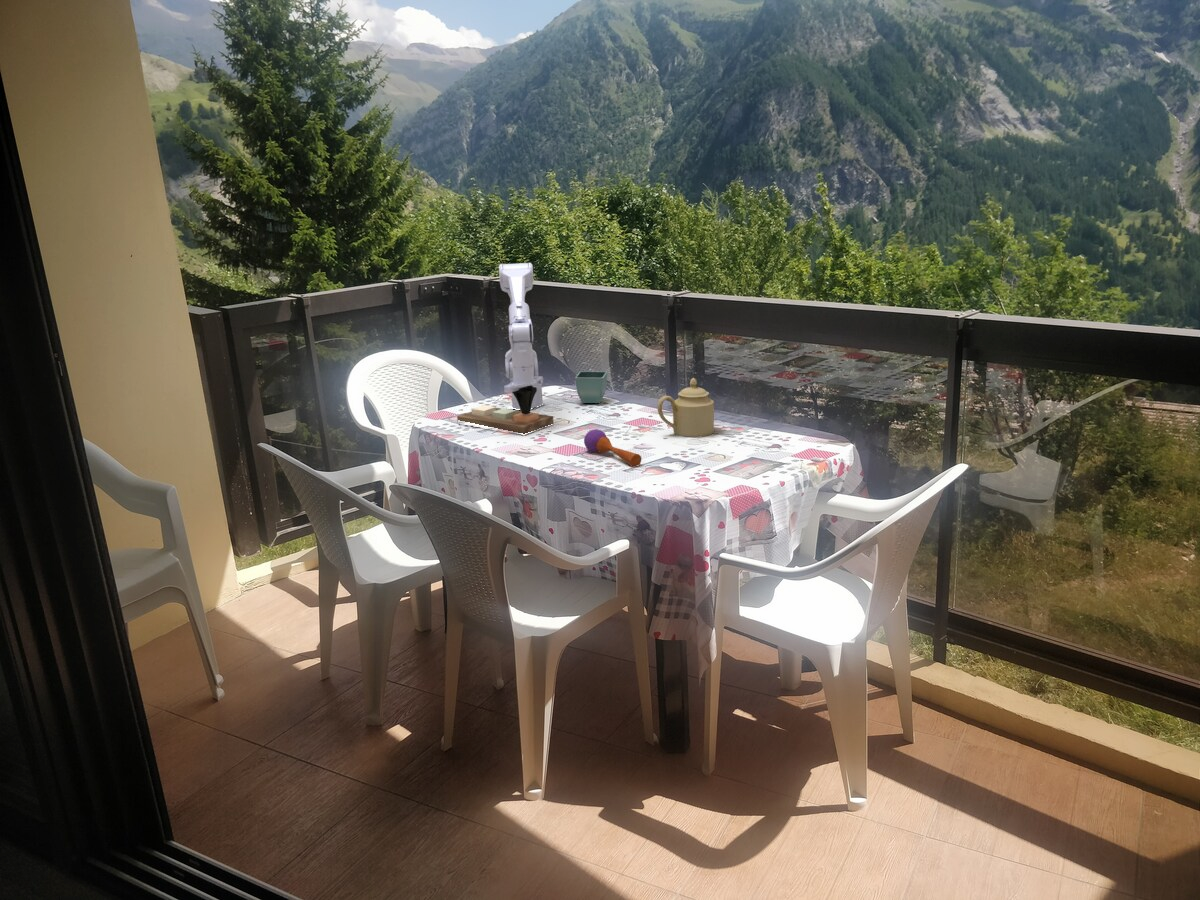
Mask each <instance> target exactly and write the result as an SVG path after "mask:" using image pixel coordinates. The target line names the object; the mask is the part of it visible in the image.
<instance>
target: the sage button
mask: <svg viewBox="0 0 1200 900" xmlns="http://www.w3.org/2000/svg"><path fill="white" fill-rule="evenodd" d="M517 411H518V410H513V409H507V408H506V407H505V408H504V407H503V408H502V409H500V410H497V411H494V412H492V418H498V419H504V420H506V419H509V418H512V417H513V415H516V414H517Z"/></svg>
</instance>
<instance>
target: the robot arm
mask: <svg viewBox="0 0 1200 900" xmlns="http://www.w3.org/2000/svg"><path fill="white" fill-rule="evenodd" d="M533 266H534V265H533V264H532V263H531V262H525V263H523V262H522V263H521V262H520V263H500V264H499V265H498V273H499V275H498V277H499V285H500V289H501V291H503V292H504V293H507V294H508V296H509V299H510V304H509V306H508V316H509V317H508V318H509V325H508V338H509V339H508V340H509V344H510V349H509V350H508V351H506V352H505V354H504V356H505V359H504V364H505V378H507V379H508V380H510V382H509V383H508V384H506V385H504V386H503V389H504V390H503V391H504V393H505V394H511V405H512V407H513V408H516V409H520V410H521V413H522V414H529V413H530V412H531V411H532V409H531V408H534V407H537V406H540V405H542V404H545V405H546V403H544V402H543V400H544V399H543V387H542V385H543V384H544V376H539V361H538V355H537V352H536V351H535V350H534V349H533V342H534V330H533V328H534V326H533V323H532V319H531V317H530V316H531V315H530V306H529V304H528V303H526V299H525V298H526V293H527V292H529V291H531V290H532V289H533V287H534V268H533ZM540 407H541V406H540ZM537 408H538V407H537ZM534 409H535V408H534Z"/></svg>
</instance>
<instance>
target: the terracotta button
mask: <svg viewBox="0 0 1200 900" xmlns="http://www.w3.org/2000/svg"><path fill="white" fill-rule="evenodd" d="M538 414H539V413H537V412H532V411H530V413H529V414H522V413H519V414H516V415H513V418H514V421H517V422H523V423H530V422H532V421H535V420H538V419H539V415H538Z"/></svg>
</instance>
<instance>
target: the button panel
mask: <svg viewBox="0 0 1200 900" xmlns="http://www.w3.org/2000/svg"><path fill="white" fill-rule="evenodd" d="M500 409H503V408H500V407H496V411H497V410H500ZM519 413H521V411H519V410H517V414H519ZM538 415H539V419H538V420H535V421H532V422H530V423H523V422H517V421H514V418H513V417H512V418H509V419H506V420H504V419H498V418H492V414H490V415H487V416H479V415H473V414H472V411H469V412H466V413H463V414H459V415H457V416H456V419H457V421H458V420H460V421H465V422H470V423H475V424H479V425H484V426H488V427H494V428H498V429H503V430H508V431H513V432H518V433H523V434H525V433H528V432H531V431H534V430H537V429H539V428H542V427H545V426H548V425H551V424H553V425H554V416H553V415H546V414H540V413H538ZM551 426H552V425H551Z"/></svg>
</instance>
